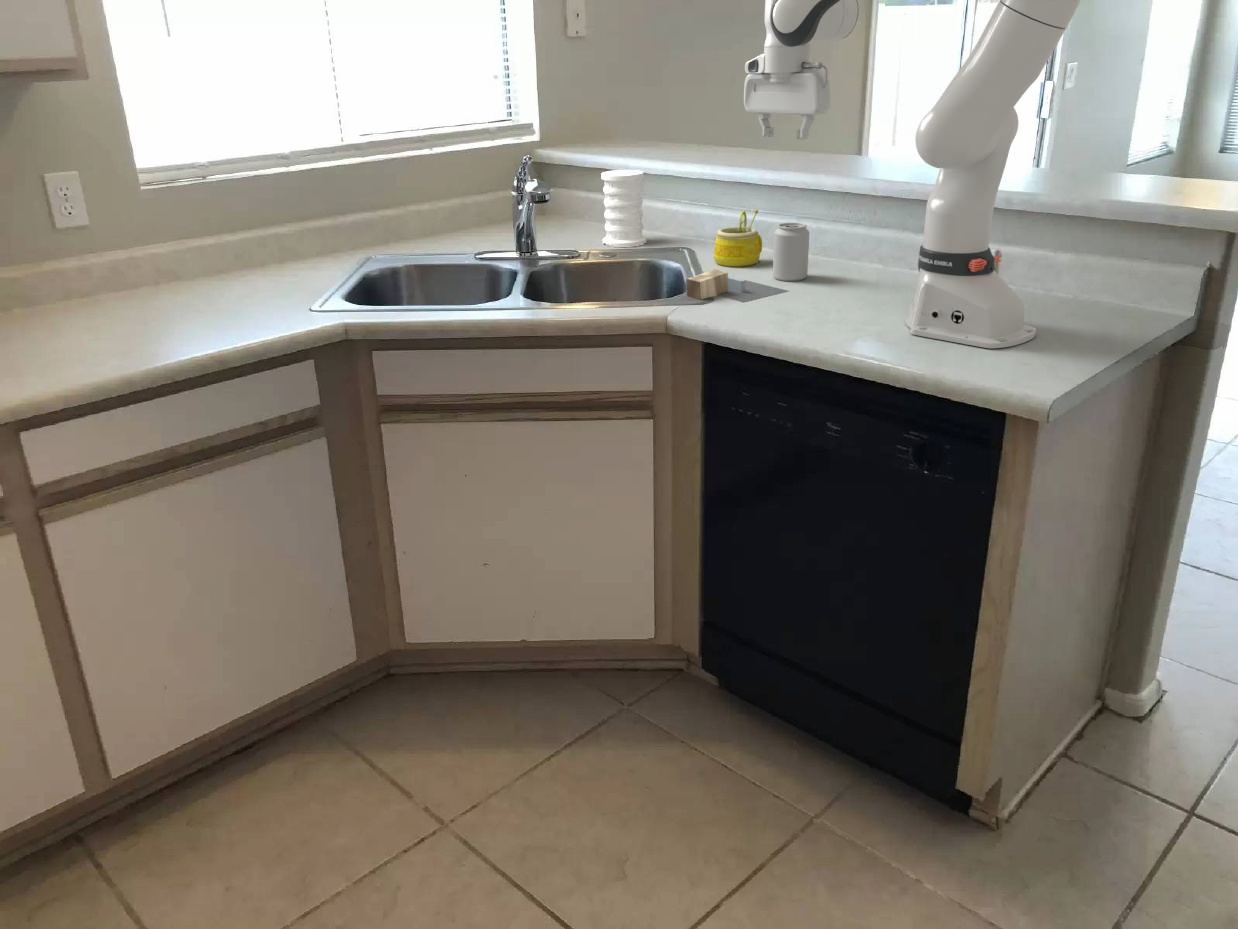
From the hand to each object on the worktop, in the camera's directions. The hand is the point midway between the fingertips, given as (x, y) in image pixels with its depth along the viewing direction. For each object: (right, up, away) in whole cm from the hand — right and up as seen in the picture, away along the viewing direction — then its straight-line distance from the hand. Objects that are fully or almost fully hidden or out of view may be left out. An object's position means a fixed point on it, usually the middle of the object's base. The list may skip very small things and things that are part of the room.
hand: (784, 137), depth 188 cm
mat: (-7, -29, +11) cm, 32 cm away
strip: (-10, -28, +12) cm, 32 cm away
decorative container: (-32, -7, +61) cm, 69 cm away
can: (+5, -25, +20) cm, 32 cm away
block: (-12, -26, +10) cm, 31 cm away
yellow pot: (-4, -18, +35) cm, 40 cm away
